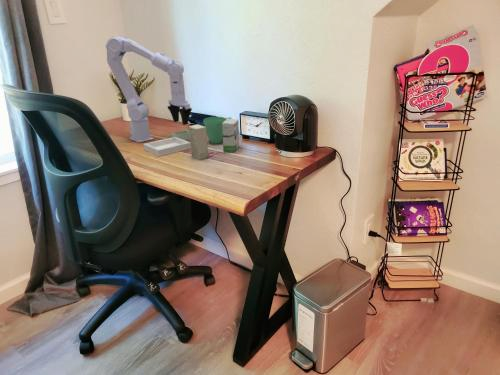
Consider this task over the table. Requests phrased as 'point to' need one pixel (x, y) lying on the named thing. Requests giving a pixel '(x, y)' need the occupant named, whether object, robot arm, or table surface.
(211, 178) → the table surface
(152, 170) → the table surface
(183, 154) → the table surface
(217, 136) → the mug
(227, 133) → the ink box
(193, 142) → the skincare box
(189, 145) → the white square tray
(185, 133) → the small crate
